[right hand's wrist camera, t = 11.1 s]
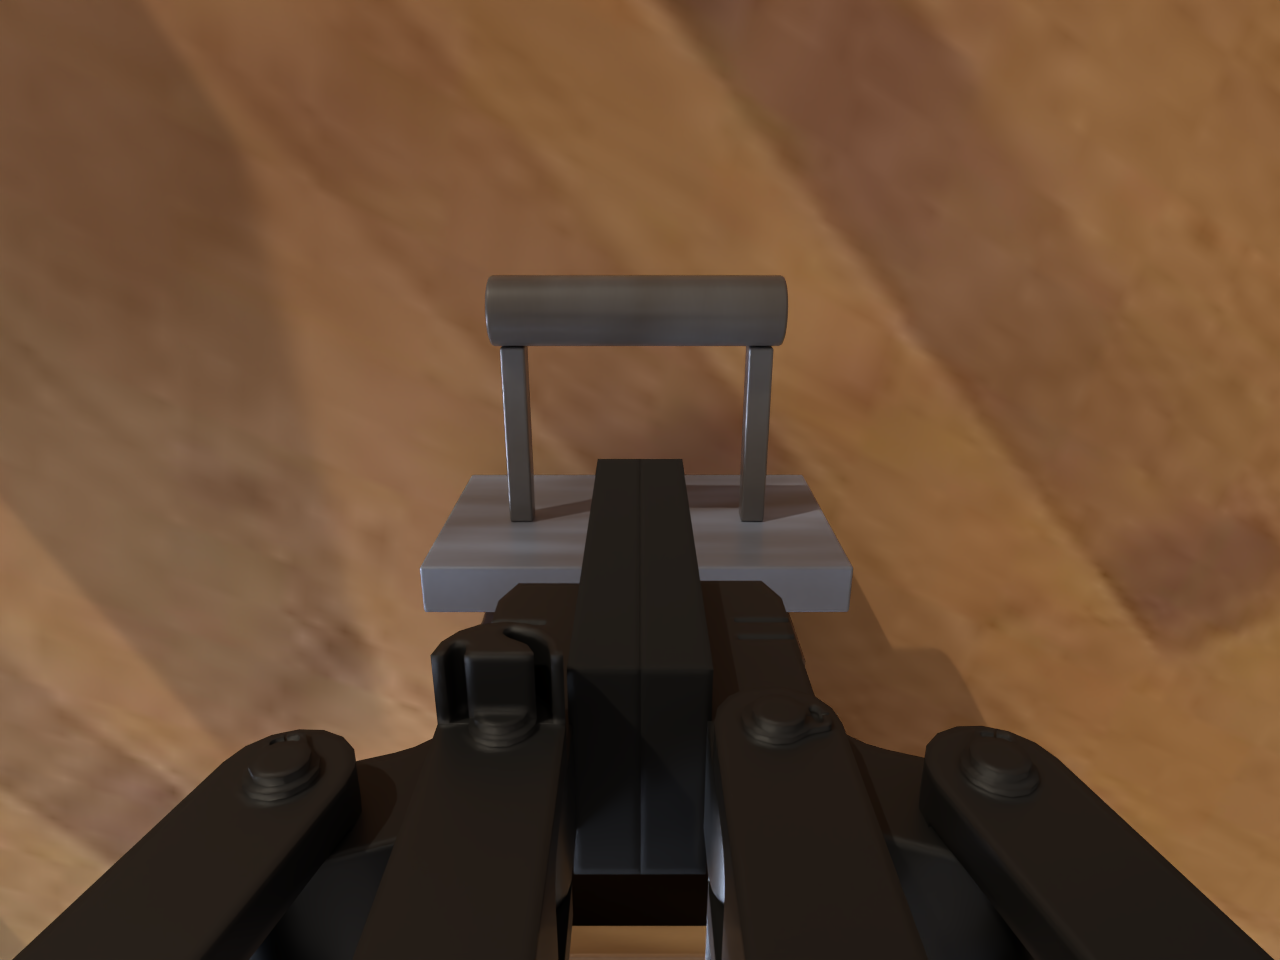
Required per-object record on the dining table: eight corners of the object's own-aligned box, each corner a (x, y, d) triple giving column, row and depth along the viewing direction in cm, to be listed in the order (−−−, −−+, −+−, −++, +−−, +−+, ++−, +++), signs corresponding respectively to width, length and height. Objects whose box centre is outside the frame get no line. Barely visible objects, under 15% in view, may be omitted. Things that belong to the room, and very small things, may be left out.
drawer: (455, 261, 22) (389, 291, 17) (818, 261, 22) (881, 291, 17) (508, 948, 31) (478, 1125, 26) (767, 948, 31) (797, 1125, 26)
